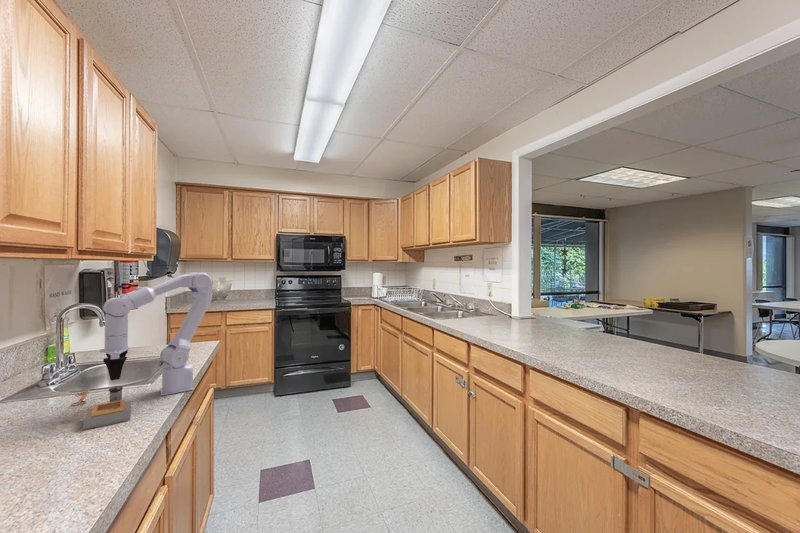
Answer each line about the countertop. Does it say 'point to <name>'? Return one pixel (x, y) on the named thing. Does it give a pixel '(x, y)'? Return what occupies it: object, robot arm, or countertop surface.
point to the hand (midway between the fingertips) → (115, 376)
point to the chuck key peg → (115, 393)
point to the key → (81, 398)
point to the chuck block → (107, 414)
